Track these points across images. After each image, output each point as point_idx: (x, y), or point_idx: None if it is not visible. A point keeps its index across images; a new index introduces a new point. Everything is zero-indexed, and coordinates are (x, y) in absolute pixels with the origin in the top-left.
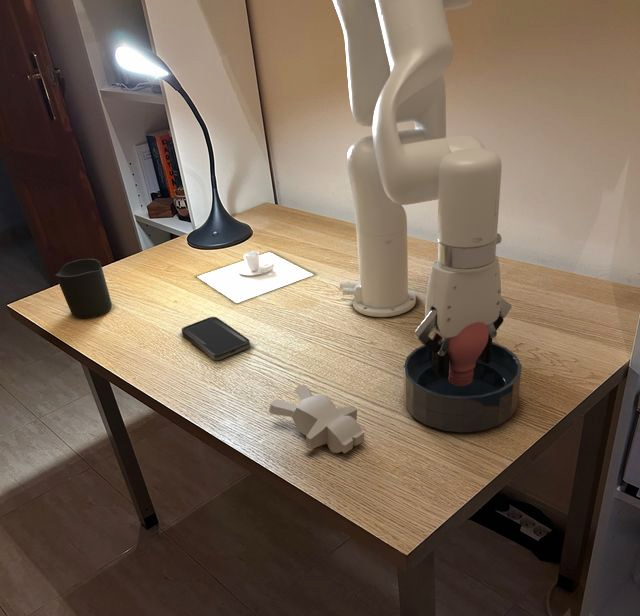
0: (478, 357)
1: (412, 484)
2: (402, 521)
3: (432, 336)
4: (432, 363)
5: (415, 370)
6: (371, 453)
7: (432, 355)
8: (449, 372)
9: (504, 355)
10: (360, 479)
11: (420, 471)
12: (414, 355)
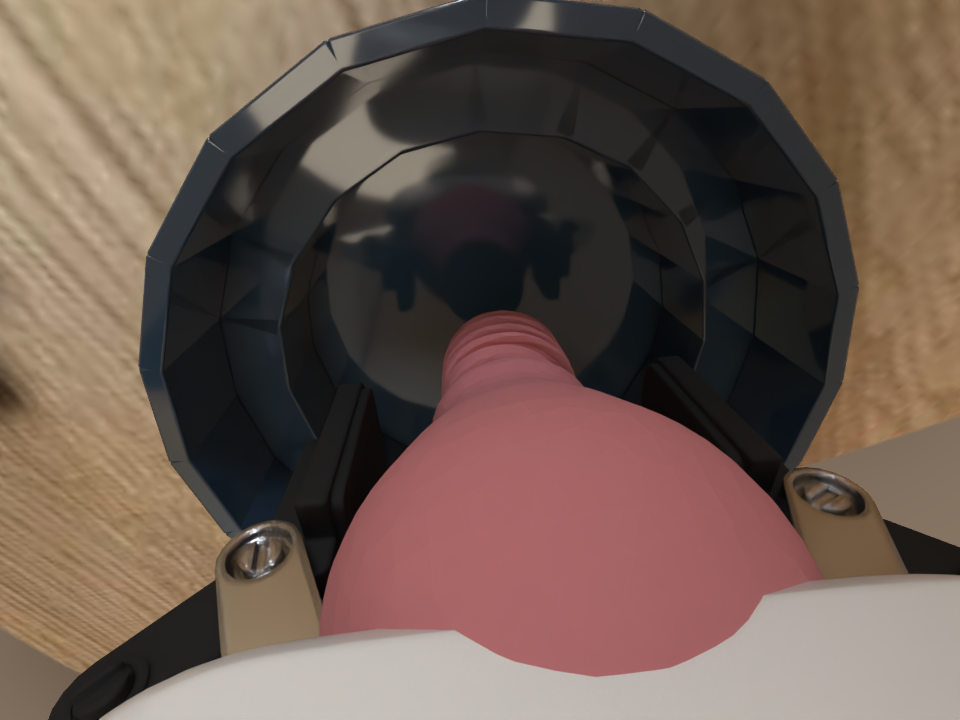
0: (645, 400)
1: (168, 573)
2: (115, 643)
3: (222, 656)
4: (300, 463)
5: (332, 128)
6: (50, 438)
7: (279, 512)
8: (442, 390)
9: (793, 370)
10: (3, 519)
11: (204, 546)
12: (303, 108)
